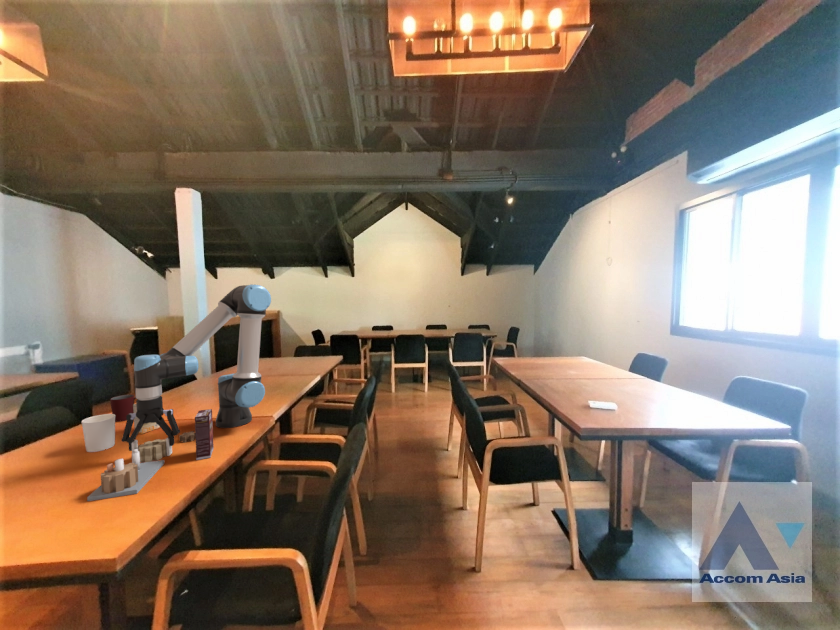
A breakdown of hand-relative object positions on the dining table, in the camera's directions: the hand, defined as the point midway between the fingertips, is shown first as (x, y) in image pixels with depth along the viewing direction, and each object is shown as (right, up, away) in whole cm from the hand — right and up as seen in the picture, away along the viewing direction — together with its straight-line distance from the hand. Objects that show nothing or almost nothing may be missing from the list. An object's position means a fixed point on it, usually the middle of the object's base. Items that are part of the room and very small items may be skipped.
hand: (152, 456), depth 126 cm
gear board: (+5, -1, -16) cm, 17 cm away
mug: (-46, +1, +42) cm, 62 cm away
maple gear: (0, 0, 0) cm, 0 cm away
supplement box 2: (+19, 0, +2) cm, 19 cm away
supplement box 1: (-23, 0, +26) cm, 35 cm away
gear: (+3, +1, +15) cm, 16 cm away
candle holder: (-28, -1, +9) cm, 29 cm away
